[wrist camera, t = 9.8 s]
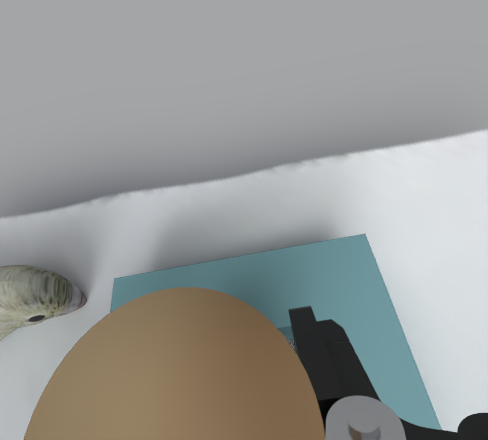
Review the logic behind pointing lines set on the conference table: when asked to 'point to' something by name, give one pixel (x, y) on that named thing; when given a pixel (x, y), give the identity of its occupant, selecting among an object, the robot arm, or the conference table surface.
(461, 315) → the conference table surface
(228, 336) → the peg
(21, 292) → the decorative bird
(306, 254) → the socket block
